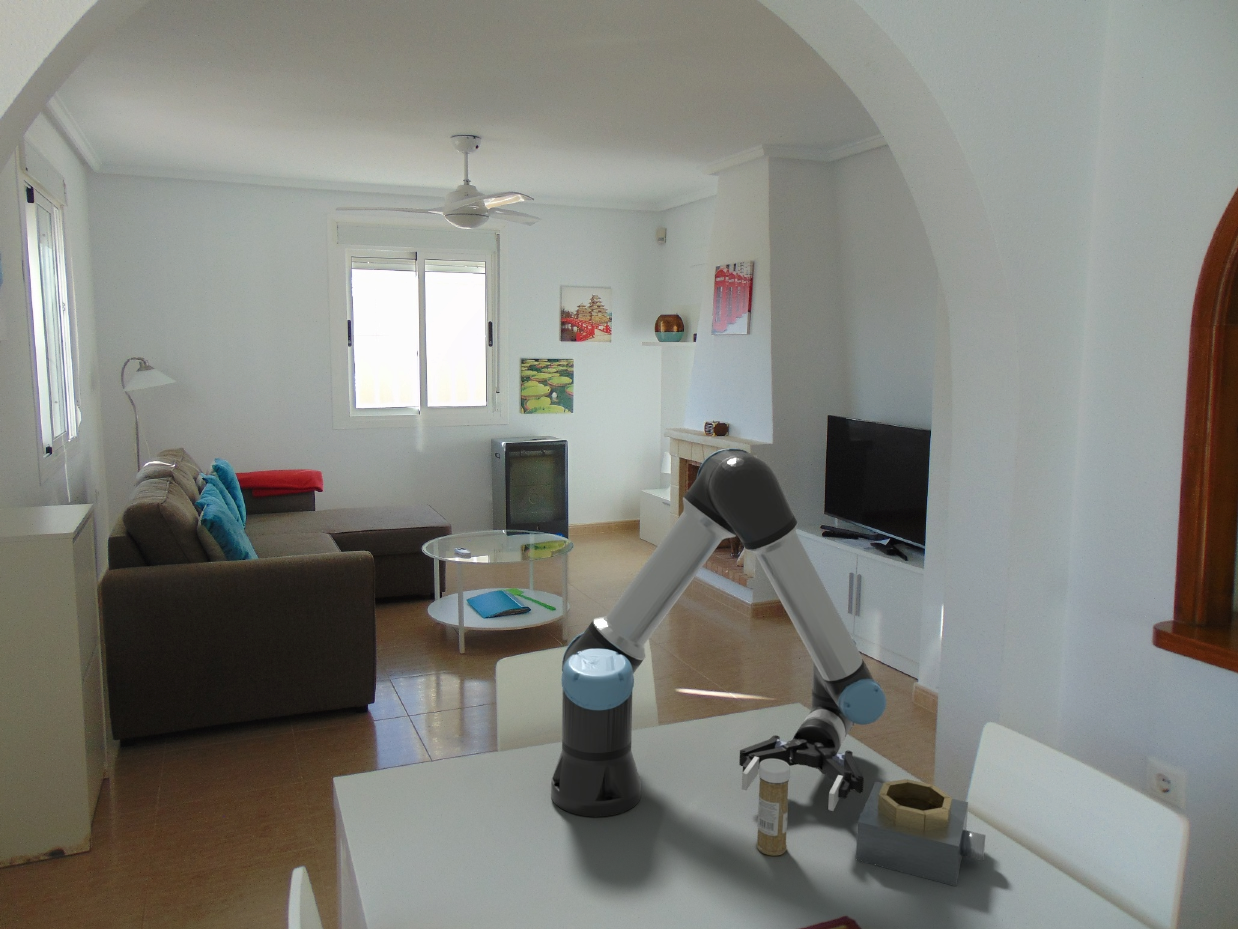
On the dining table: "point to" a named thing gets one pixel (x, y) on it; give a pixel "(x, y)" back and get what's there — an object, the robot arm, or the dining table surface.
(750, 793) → the dining table surface
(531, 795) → the dining table surface
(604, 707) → the robot arm
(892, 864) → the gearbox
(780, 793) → the sprinkles bottle
